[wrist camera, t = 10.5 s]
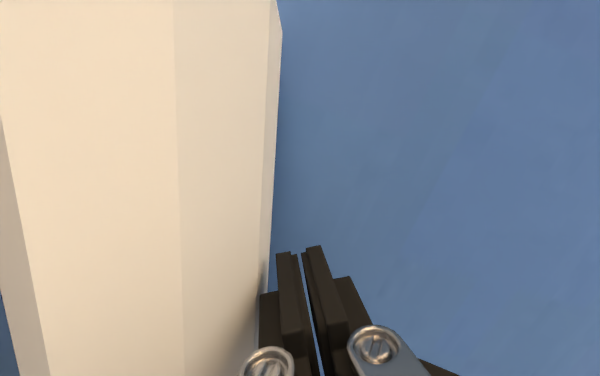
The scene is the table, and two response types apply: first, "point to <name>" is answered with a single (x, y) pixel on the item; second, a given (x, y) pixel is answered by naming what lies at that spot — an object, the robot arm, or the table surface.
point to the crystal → (136, 182)
